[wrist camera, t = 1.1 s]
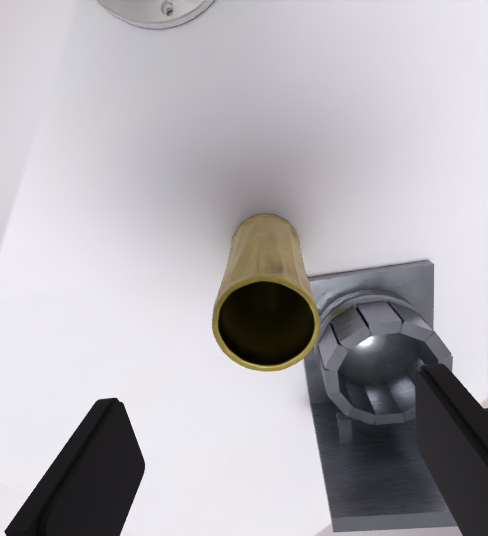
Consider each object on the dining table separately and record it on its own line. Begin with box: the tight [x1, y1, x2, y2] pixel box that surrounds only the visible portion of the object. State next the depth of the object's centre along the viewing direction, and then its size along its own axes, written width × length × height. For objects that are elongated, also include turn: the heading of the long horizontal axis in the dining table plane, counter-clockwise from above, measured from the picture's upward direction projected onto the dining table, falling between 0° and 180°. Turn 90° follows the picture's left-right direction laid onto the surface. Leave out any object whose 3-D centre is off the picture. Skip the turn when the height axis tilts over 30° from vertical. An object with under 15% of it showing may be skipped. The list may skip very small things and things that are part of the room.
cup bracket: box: [304, 261, 458, 532], centre depth 25 cm, size 15×12×12 cm
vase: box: [212, 214, 320, 371], centre depth 22 cm, size 6×6×14 cm
